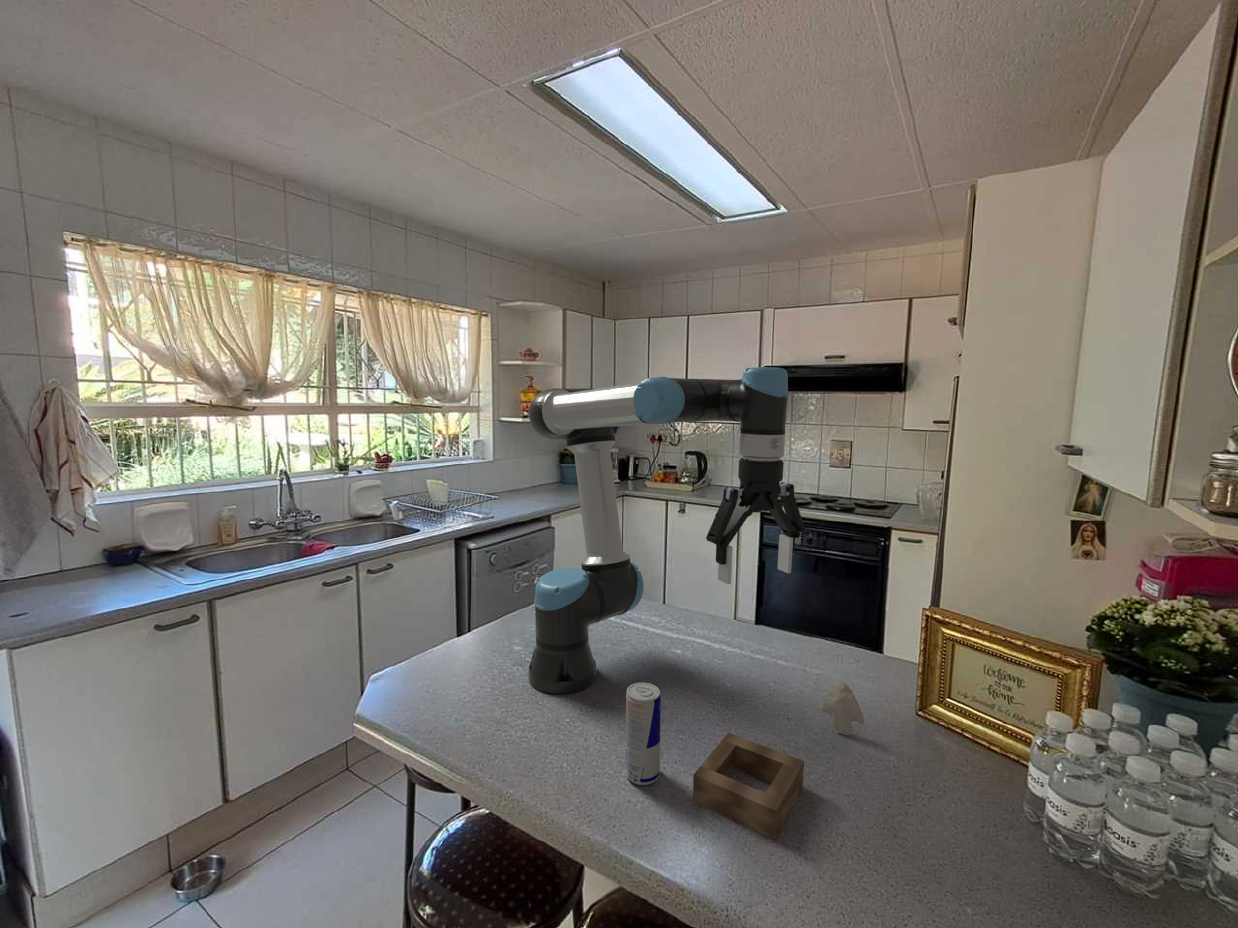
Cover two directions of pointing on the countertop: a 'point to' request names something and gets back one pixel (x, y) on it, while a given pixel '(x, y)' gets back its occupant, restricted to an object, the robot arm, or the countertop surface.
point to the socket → (742, 800)
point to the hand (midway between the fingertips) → (755, 576)
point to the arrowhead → (842, 708)
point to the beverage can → (643, 733)
